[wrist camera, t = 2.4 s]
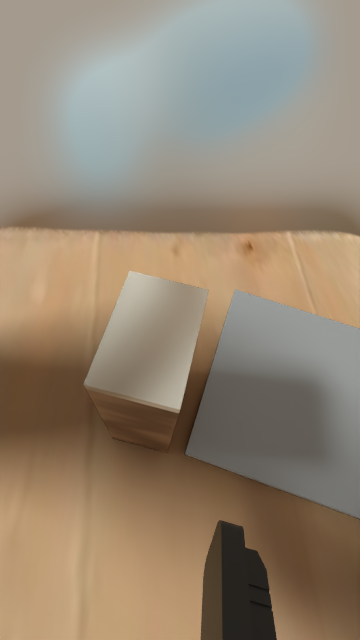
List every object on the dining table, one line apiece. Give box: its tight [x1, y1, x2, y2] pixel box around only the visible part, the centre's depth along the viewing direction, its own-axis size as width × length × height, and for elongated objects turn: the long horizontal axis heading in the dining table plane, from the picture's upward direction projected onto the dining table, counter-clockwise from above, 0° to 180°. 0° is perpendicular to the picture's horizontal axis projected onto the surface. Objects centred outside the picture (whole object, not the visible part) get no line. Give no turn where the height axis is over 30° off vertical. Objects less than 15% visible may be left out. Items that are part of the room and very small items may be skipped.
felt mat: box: [185, 289, 360, 519], centre depth 26 cm, size 13×15×1 cm
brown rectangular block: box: [83, 271, 209, 453], centre depth 20 cm, size 4×6×12 cm, turn 166°
